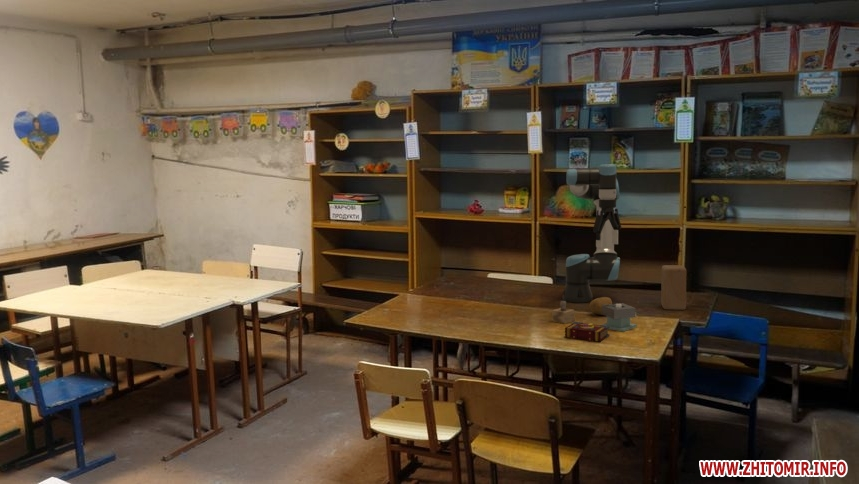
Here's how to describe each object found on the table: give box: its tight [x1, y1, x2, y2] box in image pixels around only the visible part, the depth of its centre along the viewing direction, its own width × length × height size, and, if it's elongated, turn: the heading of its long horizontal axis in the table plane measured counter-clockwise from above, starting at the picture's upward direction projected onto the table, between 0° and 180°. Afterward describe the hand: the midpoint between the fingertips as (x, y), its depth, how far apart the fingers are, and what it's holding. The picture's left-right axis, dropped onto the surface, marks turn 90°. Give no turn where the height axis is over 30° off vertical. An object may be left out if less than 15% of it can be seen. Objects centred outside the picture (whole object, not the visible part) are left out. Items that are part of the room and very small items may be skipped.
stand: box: [551, 300, 575, 325], centre depth 295 cm, size 7×7×9 cm
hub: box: [601, 303, 638, 333], centre depth 282 cm, size 11×11×10 cm
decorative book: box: [564, 321, 610, 343], centre depth 269 cm, size 11×16×5 cm
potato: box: [589, 296, 613, 316], centre depth 306 cm, size 10×14×8 cm
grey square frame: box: [602, 302, 636, 319], centre depth 282 cm, size 10×10×4 cm
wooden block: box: [660, 264, 687, 311], centre depth 315 cm, size 10×10×20 cm
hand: (607, 245), depth 299 cm, fingers open, 13 cm apart
